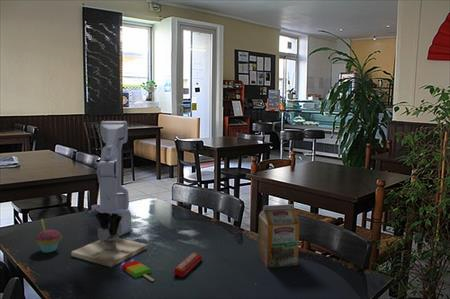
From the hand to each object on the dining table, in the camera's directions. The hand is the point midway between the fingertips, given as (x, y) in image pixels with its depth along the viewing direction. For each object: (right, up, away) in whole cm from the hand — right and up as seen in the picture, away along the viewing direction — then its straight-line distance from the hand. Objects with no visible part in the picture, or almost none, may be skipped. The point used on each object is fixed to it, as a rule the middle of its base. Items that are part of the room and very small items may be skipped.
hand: (109, 233), depth 144 cm
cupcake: (-22, -6, +3) cm, 23 cm away
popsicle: (+14, -10, -15) cm, 23 cm away
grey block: (0, -2, 0) cm, 2 cm away
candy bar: (+28, -9, -11) cm, 31 cm away
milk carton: (+58, -8, -4) cm, 58 cm away
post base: (0, -7, +1) cm, 7 cm away
